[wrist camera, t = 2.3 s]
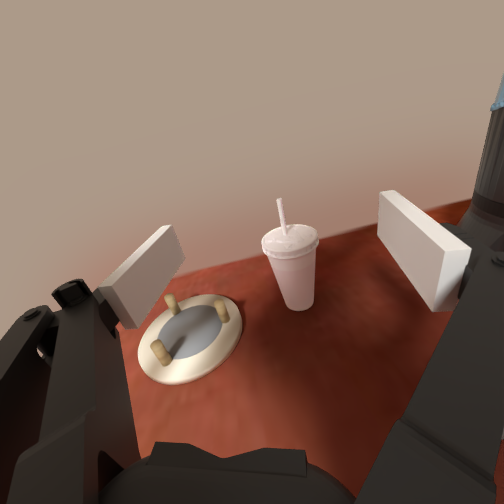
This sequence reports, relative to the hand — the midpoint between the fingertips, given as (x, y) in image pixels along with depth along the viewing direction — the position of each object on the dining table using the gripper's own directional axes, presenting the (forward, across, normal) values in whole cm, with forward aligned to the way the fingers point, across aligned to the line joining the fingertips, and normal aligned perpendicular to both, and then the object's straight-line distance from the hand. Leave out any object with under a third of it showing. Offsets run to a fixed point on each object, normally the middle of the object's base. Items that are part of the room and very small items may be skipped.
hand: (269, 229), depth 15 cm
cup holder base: (+6, -13, -16) cm, 21 cm away
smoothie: (+10, +1, -16) cm, 19 cm away
